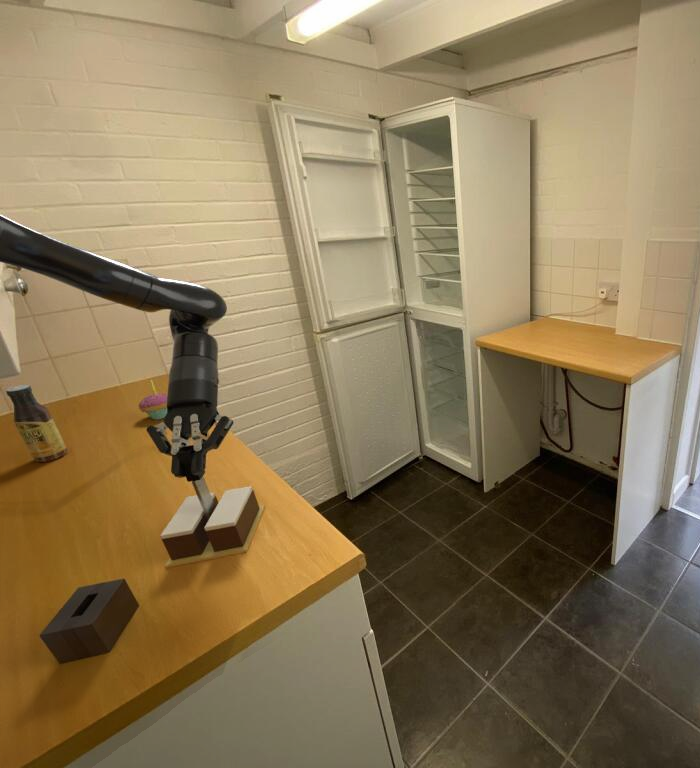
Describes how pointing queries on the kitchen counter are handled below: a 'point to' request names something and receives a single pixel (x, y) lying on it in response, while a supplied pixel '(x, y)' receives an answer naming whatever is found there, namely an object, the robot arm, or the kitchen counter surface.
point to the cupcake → (154, 404)
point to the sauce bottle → (36, 425)
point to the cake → (212, 528)
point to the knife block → (90, 621)
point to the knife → (196, 480)
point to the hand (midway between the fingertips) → (188, 475)
